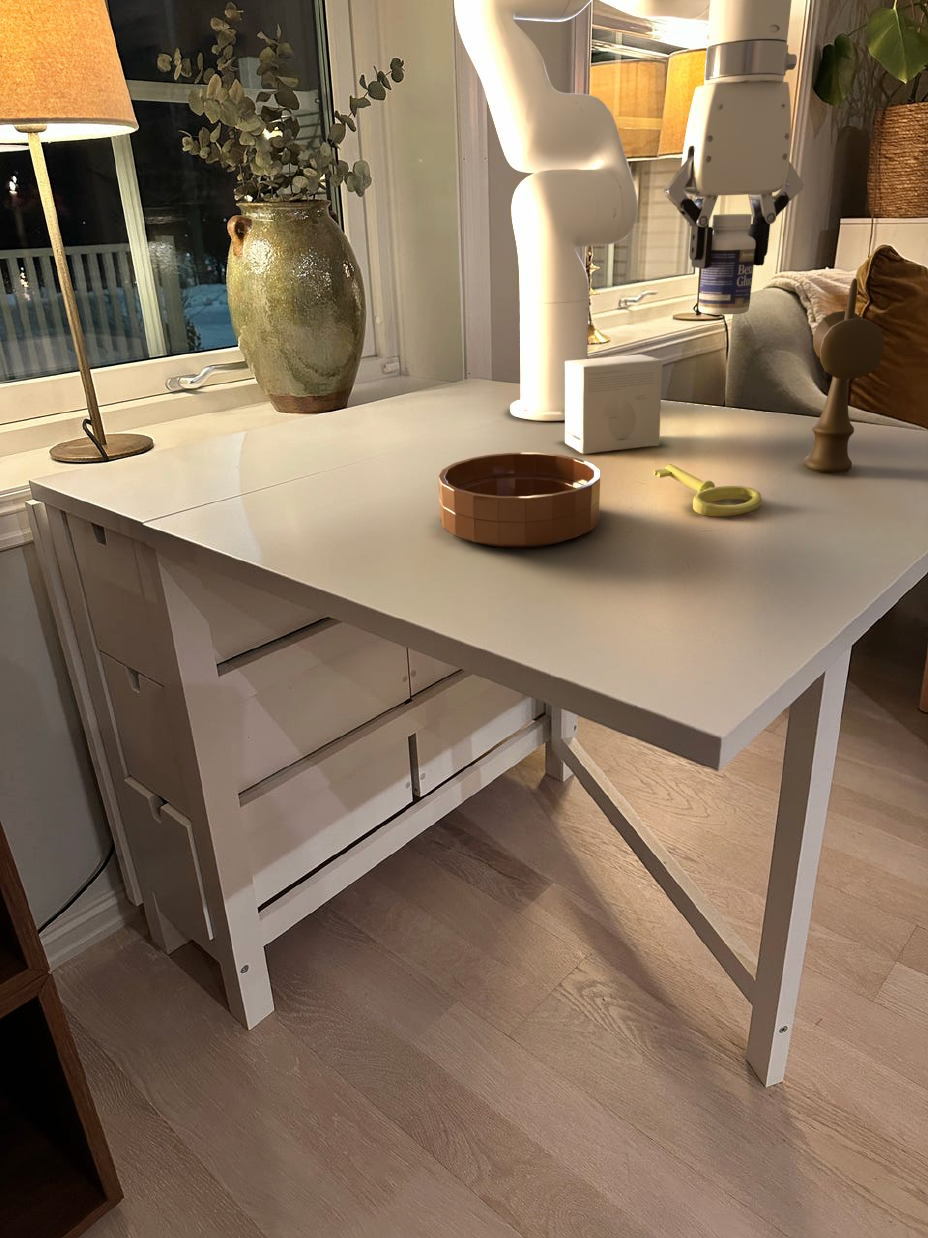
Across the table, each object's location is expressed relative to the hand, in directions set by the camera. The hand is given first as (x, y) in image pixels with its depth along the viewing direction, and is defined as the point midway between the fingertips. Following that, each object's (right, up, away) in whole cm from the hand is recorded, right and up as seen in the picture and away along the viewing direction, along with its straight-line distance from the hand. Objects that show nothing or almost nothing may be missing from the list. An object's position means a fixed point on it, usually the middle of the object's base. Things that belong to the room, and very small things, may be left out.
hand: (727, 264), depth 95 cm
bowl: (-23, -29, -9) cm, 38 cm away
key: (-3, -26, -4) cm, 27 cm away
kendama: (+12, -22, +4) cm, 25 cm away
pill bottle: (0, -5, +2) cm, 5 cm away
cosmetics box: (-10, -16, +17) cm, 25 cm away
